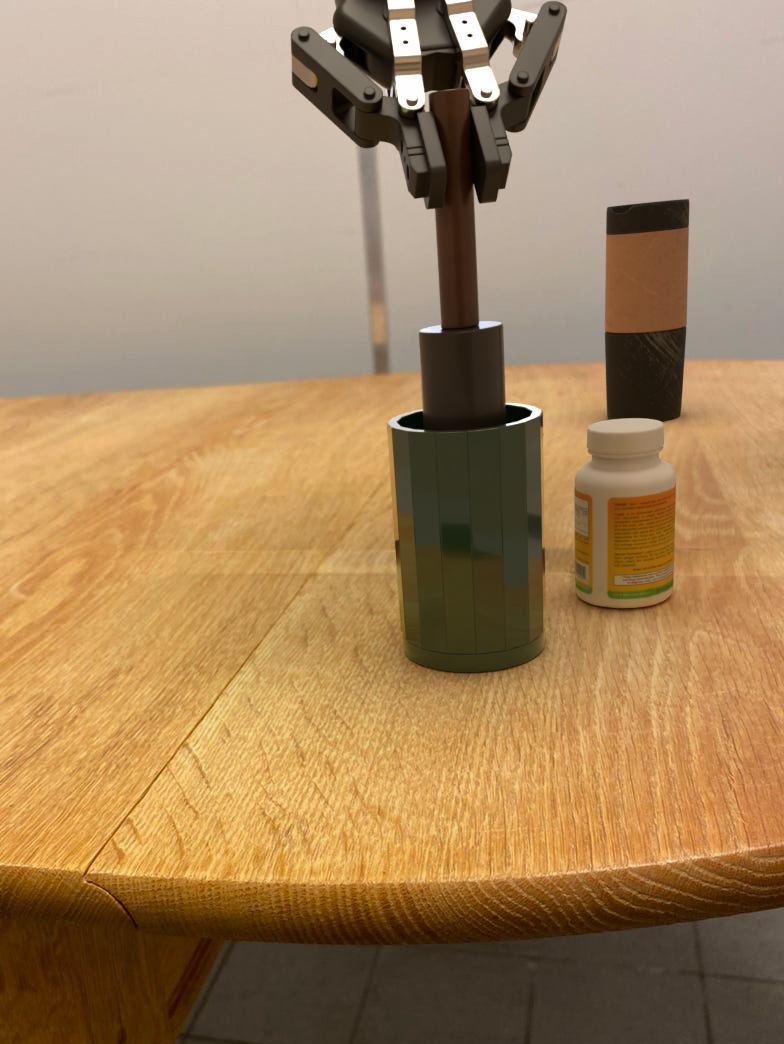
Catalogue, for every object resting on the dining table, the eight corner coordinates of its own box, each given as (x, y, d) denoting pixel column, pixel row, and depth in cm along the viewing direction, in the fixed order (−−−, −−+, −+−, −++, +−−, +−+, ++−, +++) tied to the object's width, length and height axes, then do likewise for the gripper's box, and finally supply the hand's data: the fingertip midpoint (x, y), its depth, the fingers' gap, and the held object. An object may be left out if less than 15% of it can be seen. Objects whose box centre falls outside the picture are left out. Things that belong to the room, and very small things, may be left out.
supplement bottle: (690, 588, 61) (696, 417, 57) (643, 617, 57) (647, 437, 54) (605, 573, 64) (606, 412, 61) (556, 600, 61) (554, 431, 57)
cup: (551, 620, 58) (548, 399, 54) (538, 675, 52) (533, 428, 47) (418, 618, 60) (405, 406, 56) (389, 670, 54) (372, 435, 50)
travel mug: (680, 407, 110) (686, 198, 102) (687, 421, 103) (694, 198, 96) (603, 411, 112) (604, 206, 104) (605, 425, 105) (606, 207, 97)
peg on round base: (512, 461, 54) (500, 88, 48) (502, 481, 50) (488, 80, 44) (434, 464, 55) (412, 100, 49) (419, 483, 52) (394, 94, 45)
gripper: (256, -133, 49) (306, 136, 42) (547, -162, 50) (644, 99, 43) (264, 18, 56) (308, 271, 49) (520, -8, 57) (599, 238, 50)
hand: (464, 189), depth 46 cm, fingers closed on peg on round base, 2 cm apart
